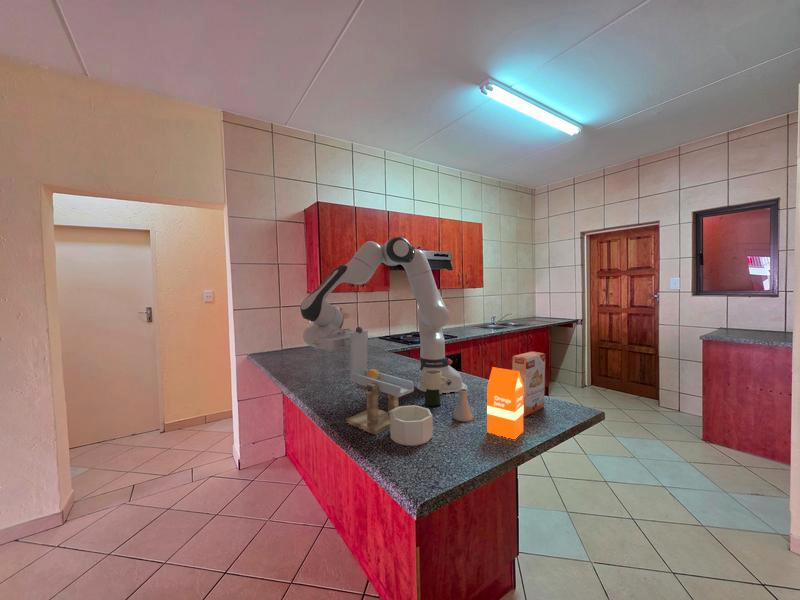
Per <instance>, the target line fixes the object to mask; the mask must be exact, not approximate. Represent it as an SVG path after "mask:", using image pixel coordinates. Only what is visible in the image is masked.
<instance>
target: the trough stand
mask: <svg viewBox="0 0 800 600" xmlns="http://www.w3.org/2000/svg"><path fill="white" fill-rule="evenodd" d="M397 407H399V397H397V396H394V395H391V394H388V393H387V411H385V410H382V409H379V391H378V384H374V383H369V384H367V390H366V410H364V411H362V412H360V413H357V414H355V415H353V416H350V417H348V418H346V421H345V422H346V424H347V423H349V424H348V425H350V424H351V425H350V426H352V425H353V427H355V426H356V427H355V428H357V427H358V429H361V430H362V429H363V430H362V431H365V432H366V433H367V432H368V433H370V434H372V435H375V436H377V435H379V434H381V433H384V432H386V431H388V430H390V411H391V410H393V409H395V408H397Z"/></svg>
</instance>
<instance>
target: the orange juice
mask: <svg viewBox="0 0 800 600" xmlns="http://www.w3.org/2000/svg"><path fill="white" fill-rule="evenodd" d="M486 390H487V393H486V397H487V398H486V399H487V400H486V401H487V402H486V405H487V406H486V414H487V415H486V417H487V419H486V421H487V422H486V426H487V427H486V429H487V430H486V432H487V433H488V434H491V433H492V434H491V435H494V434H495V436H497V437H501V436H503V437H502V438H504V437H506V438H505V439H508V438H511V439H516V438H517V437H518V436H519V435H520V434H521V433H523V432H524V416H523V413H524V405H523V384H522V380H521V377H520V373H519V371H514V370H512V369H508V368H499V367H496V366H495V367H494V366H492V367H491V371H490V375H489V379H488V383H487V389H486ZM521 435H522V434H521ZM521 435H520V436H521ZM520 436H519V437H520ZM519 437H518V438H519ZM518 438H517V439H518ZM511 439H510V440H511ZM517 439H516V440H517Z"/></svg>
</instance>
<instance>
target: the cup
mask: <svg viewBox="0 0 800 600" xmlns="http://www.w3.org/2000/svg"><path fill="white" fill-rule="evenodd" d="M433 417H434V416H433V413H431V410H430V408H428V407H427V408H426V407H423V406H419V405H417V404H416V405H398V407H397V408H395V409H393V410H391V411H390V428H389V435H390V440H392V441H393V442H394V443H395V444H398V445H402V446H407V447H409V446H411V447H414V446H420V445H423V444H427V443H428V442H429V441H430V440H431V439H432V437H434V433H433V432H434V430H433V427H434V423H433V422H434V421H433V420H434V419H433Z"/></svg>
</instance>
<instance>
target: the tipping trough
mask: <svg viewBox="0 0 800 600" xmlns="http://www.w3.org/2000/svg"><path fill="white" fill-rule="evenodd" d="M355 331H356V332H351V333H350V346H349V382H351V383H354V384H356V388H357V389H360V390H363V391H367V384H369V383H374V384H378V392H382V393H385V394H387V395H388V394H391V395H394V396H397V397H398V398H400V397H404V396H406V395H407V394H411V393H413V392H415V391H414V390H415V389H414V387H415V386H414V385H415V382H414V381H411V380H408V379H404V378H400V377H397V376H394V375H390V374H386V373H383V372H379V371H378V378H377V379H376V380H375V379H372V378H369V377H367V372H368V371H369V370H370V369H368V342H369V340H368V339H369V334H368V333H369V331H368V330H363V327H361V326H357V327H356V328H355ZM367 341H368V342H367Z"/></svg>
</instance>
